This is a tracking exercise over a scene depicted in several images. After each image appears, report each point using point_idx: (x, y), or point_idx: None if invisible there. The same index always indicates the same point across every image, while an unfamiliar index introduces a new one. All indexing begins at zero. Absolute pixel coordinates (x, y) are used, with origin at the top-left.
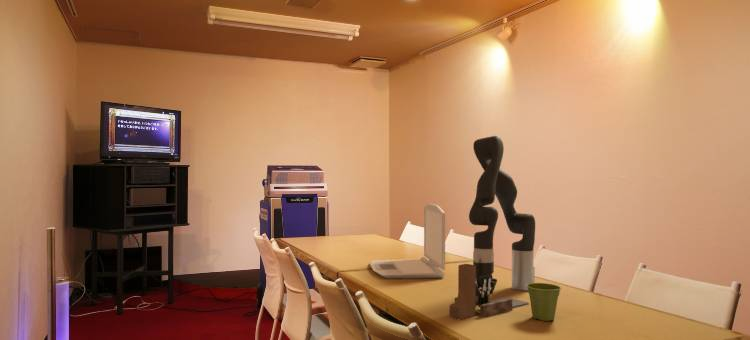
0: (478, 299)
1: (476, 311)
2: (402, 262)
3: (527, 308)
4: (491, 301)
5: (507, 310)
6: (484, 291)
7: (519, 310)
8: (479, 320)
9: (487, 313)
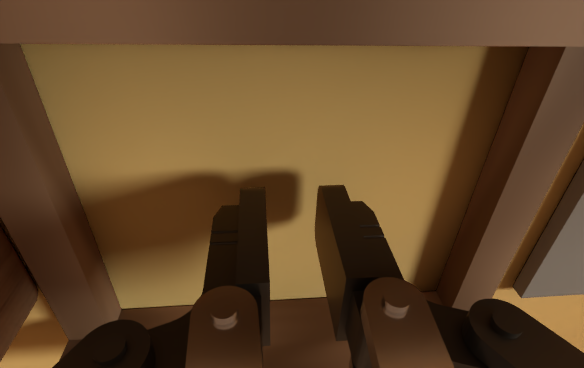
0: (207, 276)
1: (60, 303)
2: None
3: (570, 326)
4: (567, 133)
5: None
6: (402, 361)
7: None
8: (8, 361)
9: None
